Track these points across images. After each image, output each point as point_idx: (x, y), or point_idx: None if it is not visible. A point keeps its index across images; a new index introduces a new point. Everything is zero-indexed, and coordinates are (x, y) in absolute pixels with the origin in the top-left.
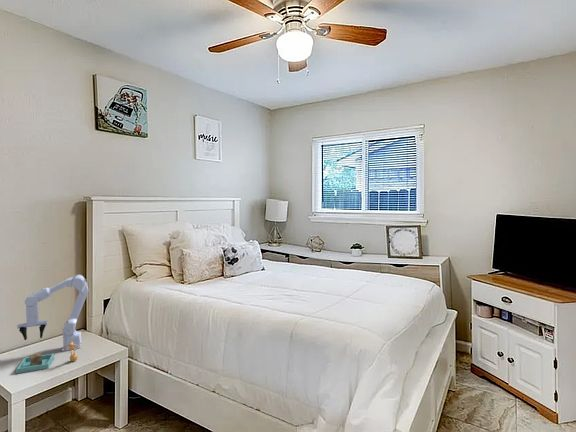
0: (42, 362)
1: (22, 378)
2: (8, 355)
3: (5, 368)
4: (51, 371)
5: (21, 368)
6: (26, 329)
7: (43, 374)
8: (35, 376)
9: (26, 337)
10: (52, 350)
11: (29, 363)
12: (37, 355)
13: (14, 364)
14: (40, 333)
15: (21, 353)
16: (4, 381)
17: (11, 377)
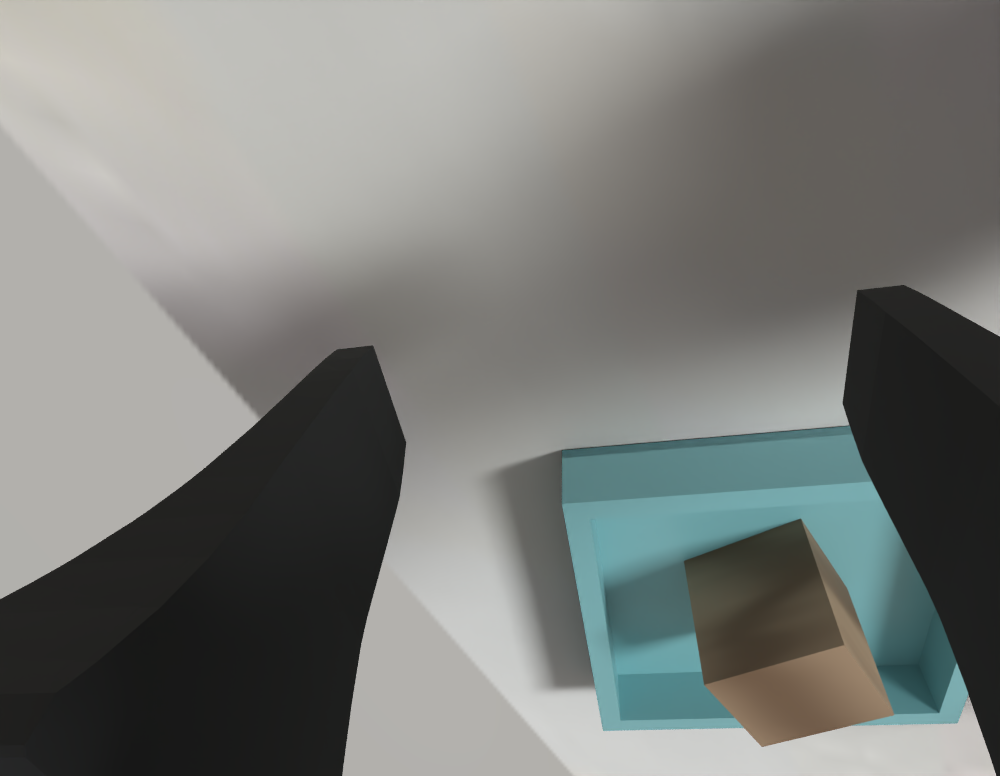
0: (843, 546)
1: (700, 749)
2: (39, 83)
3: (387, 551)
4: (971, 715)
5: (655, 727)
6: (199, 593)
7: (891, 740)
8: (817, 749)
9: (371, 419)
10: (972, 21)
11: (660, 530)
12: (827, 702)
13: (438, 479)
14: (941, 576)
15: (263, 32)
16: (553, 752)
17: (582, 716)
